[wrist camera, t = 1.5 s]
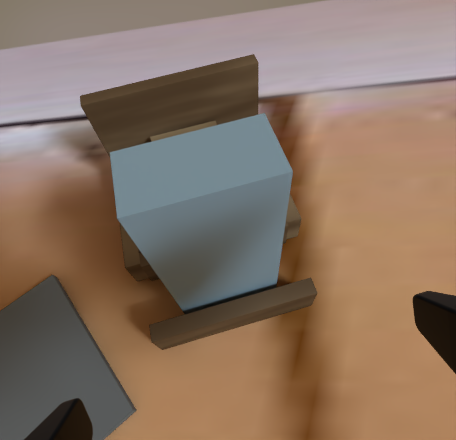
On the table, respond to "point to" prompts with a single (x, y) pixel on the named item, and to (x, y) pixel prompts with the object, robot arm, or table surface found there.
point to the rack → (174, 120)
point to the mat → (53, 365)
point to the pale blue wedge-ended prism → (207, 209)
